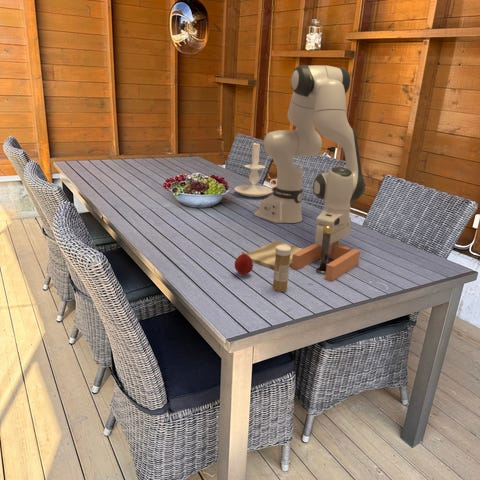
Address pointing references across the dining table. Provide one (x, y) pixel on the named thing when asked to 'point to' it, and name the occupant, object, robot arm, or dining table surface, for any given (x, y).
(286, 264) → the sprinkles bottle
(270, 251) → the tray
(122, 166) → the dining table surface
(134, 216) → the dining table surface
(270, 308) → the dining table surface
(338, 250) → the c link
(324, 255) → the post stand
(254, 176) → the candlestick
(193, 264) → the dining table surface
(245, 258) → the onion
